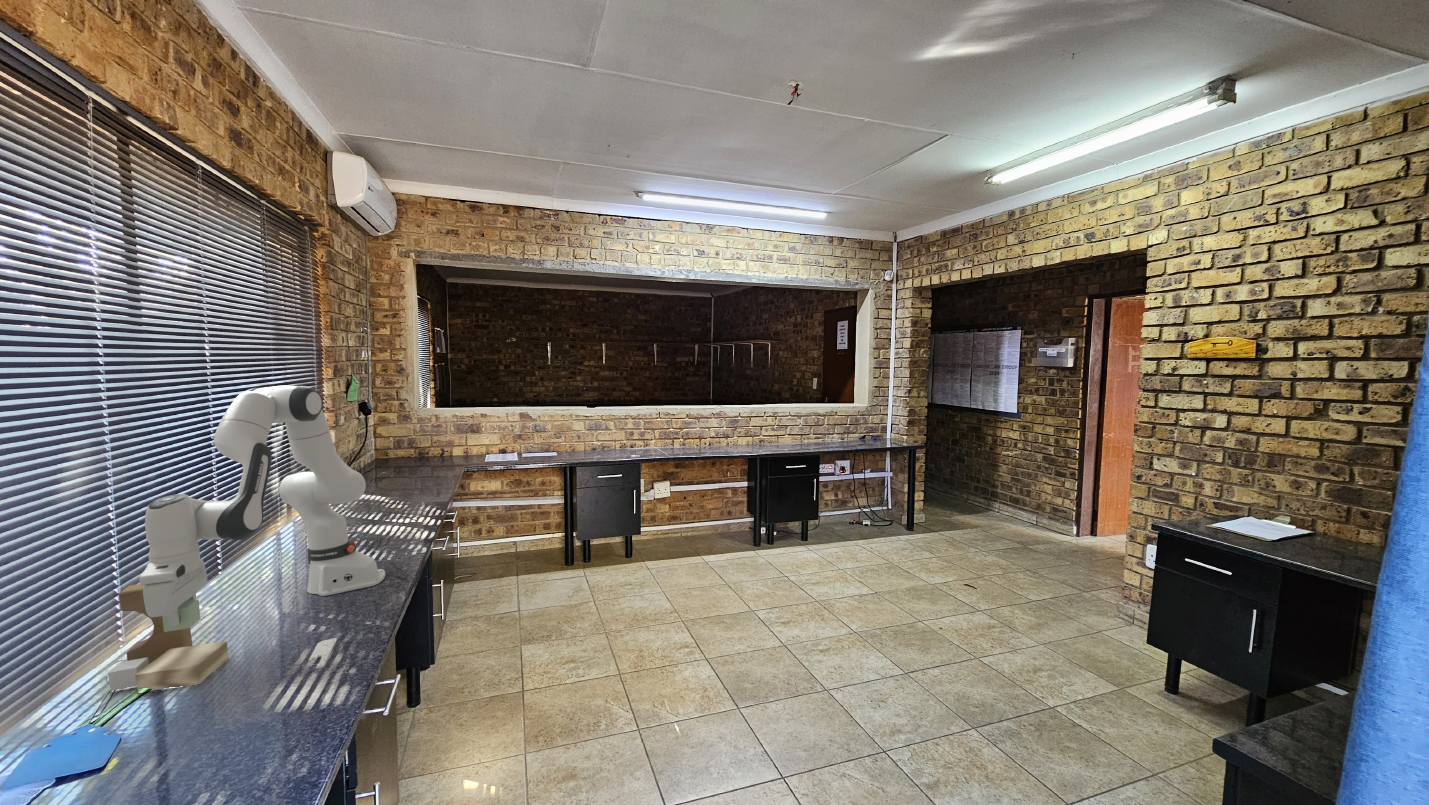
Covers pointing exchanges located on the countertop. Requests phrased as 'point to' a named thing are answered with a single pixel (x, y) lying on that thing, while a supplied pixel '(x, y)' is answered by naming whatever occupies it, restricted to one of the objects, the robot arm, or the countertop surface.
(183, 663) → the pale maple block
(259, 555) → the countertop surface
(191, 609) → the sage green cube
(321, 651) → the white plastic strip tool
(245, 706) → the countertop surface
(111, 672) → the grey plastic cube
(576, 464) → the countertop surface
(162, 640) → the decorative block
